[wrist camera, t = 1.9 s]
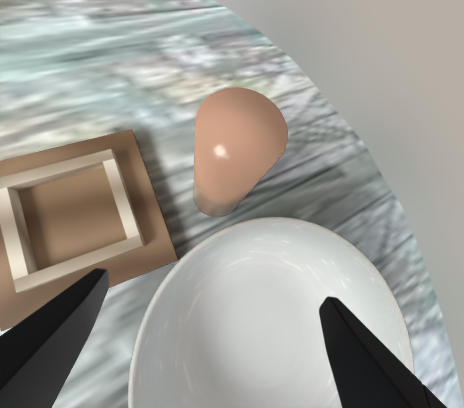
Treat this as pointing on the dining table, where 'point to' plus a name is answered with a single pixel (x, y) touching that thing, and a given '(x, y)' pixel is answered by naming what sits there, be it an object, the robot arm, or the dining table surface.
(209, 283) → the serving bowl
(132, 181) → the display stand
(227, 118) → the peach rounded block
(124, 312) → the dining table surface
